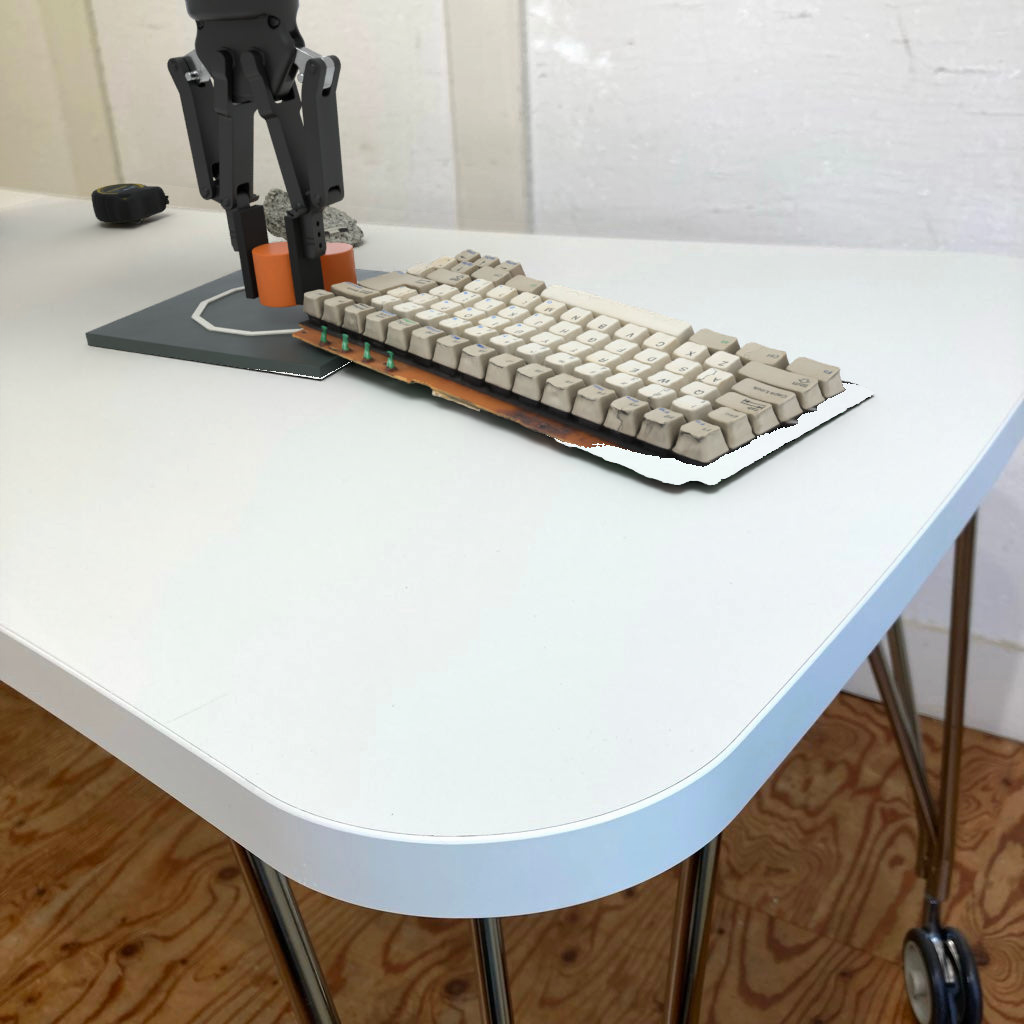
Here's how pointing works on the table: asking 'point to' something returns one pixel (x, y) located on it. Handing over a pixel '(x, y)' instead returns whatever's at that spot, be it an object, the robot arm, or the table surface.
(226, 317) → the slate board
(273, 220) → the rock sample
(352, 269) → the short orange drum
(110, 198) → the tape measure
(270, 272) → the orange cylinder
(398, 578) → the table surface
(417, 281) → the mechanical keyboard
